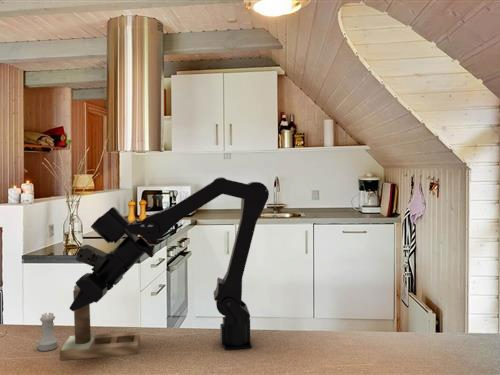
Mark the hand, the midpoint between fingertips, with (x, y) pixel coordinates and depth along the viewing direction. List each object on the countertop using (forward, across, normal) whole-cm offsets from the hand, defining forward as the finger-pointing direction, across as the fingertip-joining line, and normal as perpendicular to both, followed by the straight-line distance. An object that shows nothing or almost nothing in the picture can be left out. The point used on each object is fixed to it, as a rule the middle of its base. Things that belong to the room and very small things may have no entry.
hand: (75, 305), depth 98 cm
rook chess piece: (+13, -2, +2) cm, 13 cm away
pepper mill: (+5, 0, +7) cm, 8 cm away
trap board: (+3, -1, +12) cm, 12 cm away
